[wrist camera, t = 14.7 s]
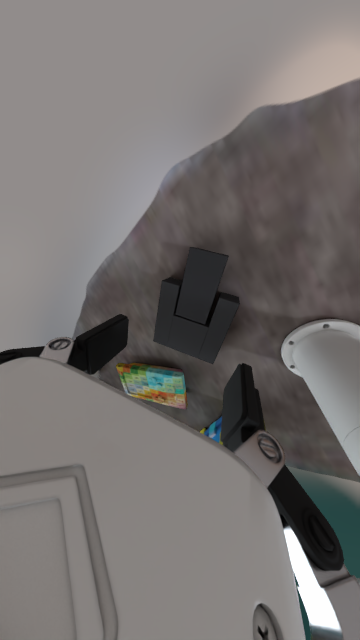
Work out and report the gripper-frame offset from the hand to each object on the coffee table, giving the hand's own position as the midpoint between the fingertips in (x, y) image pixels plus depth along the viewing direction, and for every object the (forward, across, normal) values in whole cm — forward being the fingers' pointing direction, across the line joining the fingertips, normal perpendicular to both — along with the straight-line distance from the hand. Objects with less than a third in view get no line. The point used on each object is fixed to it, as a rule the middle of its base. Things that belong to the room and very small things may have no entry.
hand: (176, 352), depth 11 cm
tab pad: (+20, +2, -1) cm, 20 cm away
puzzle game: (+20, +7, +29) cm, 36 cm away
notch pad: (+20, +2, +6) cm, 21 cm away
